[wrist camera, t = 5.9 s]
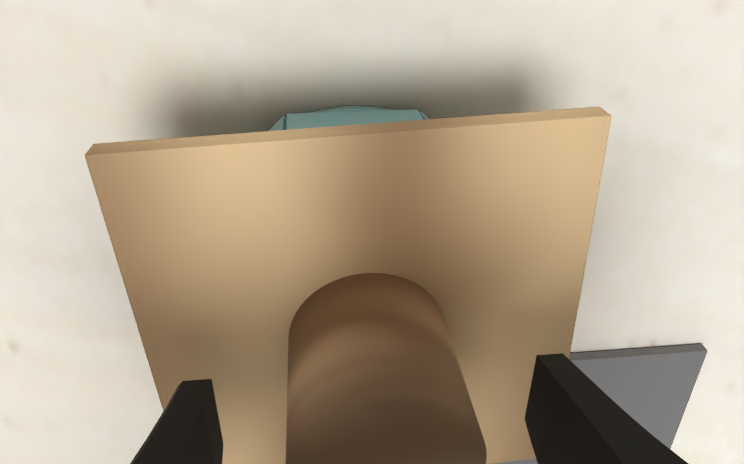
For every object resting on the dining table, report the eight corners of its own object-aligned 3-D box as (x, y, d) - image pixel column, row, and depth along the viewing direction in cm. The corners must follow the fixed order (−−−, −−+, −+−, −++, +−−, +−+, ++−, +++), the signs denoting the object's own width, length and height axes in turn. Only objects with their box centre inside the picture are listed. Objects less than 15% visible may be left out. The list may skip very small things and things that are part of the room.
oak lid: (193, 481, 18) (164, 648, 14) (93, 143, 12) (-2, 265, 9) (544, 440, 19) (609, 588, 15) (599, 106, 13) (725, 201, 9)
